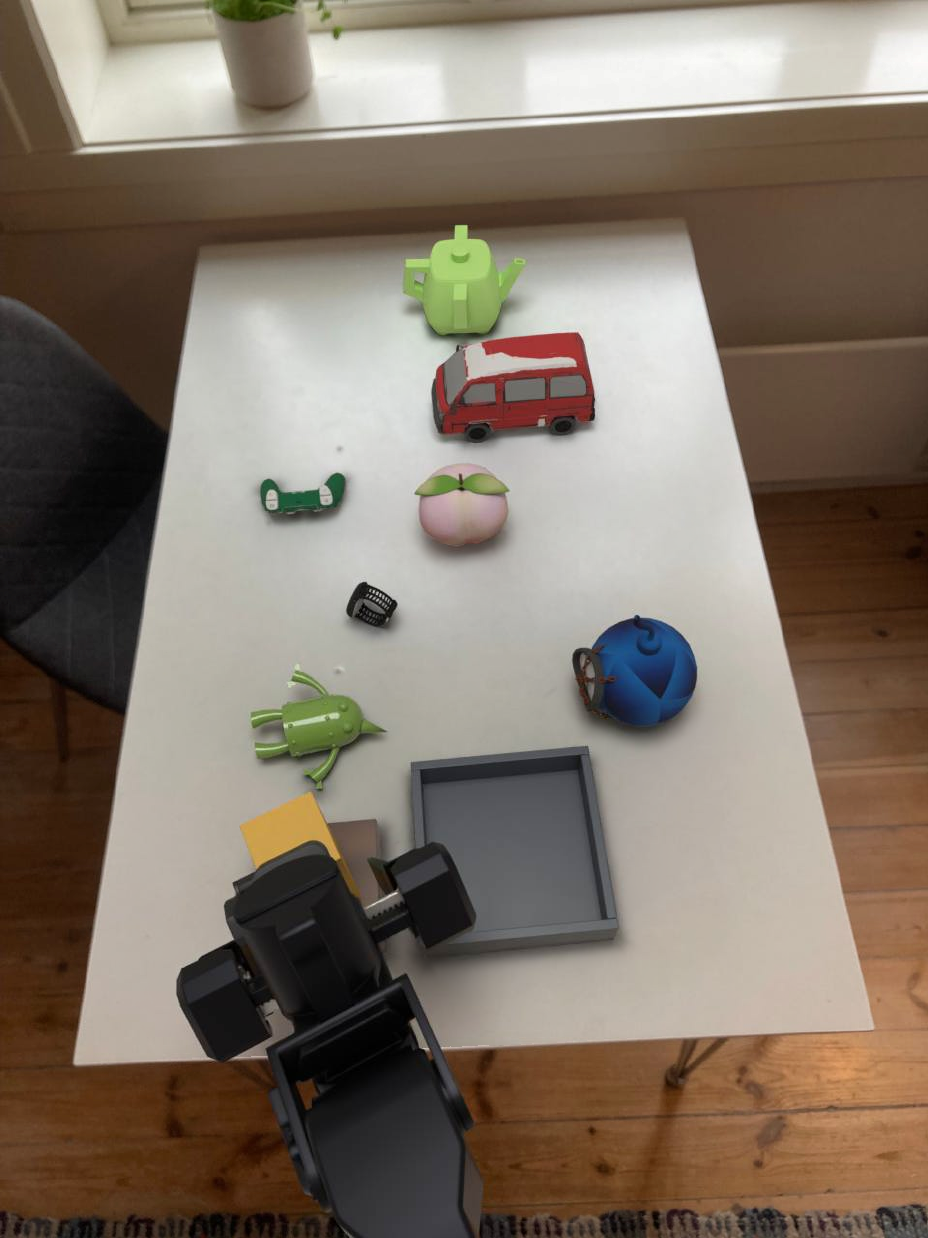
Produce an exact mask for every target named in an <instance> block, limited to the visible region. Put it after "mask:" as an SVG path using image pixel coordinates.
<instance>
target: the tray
mask: <svg viewBox="0 0 928 1238" xmlns="http://www.w3.org/2000/svg"><path fill="white" fill-rule="evenodd" d="M410 779H411V781H410V782H411V797H412V812H413V815H412V816H413V831H414V832H413V833H414V849H415V848H421V847H423V846H425V845H427V844H429V843H431V842H437V843H440V844H443V845H444V846H445V848H446V849H447V850H448V852H449V853H450V855H451V857H452V859H453V861H454V863H455V865H456V867H457V870H458V872H459V874H460V877H461V879H462V881H463V884H464V886H465V889H466V891H467V893H468V896H469V898H470V900H471V903H472V905H473V908H474V910H475V912H476V916H477V918H476V922H475V925H474V929H473V930H472V931H470V932H468V933H466V934H464V935H463V936H461V937H459V938H457V939H455V940H453V941H451V942H449V943H448V944H446V945H444V946H442V947H440V948H438V949H436V950H434V951H433V952H431V953H429V954H428V952H427V950H426V948H425V946H424V944H423V942H422V940H421V939H420V948H421V951H422V953H423V956H424V958H426V959H428V958H438V957H447V956H458V955H459V956H460V955H467V954H477V953H478V954H479V953H489V952H498V951H499V952H500V951H511V950H520V949H521V950H522V949H530V948H542V947H551V946H563V945H572V944H582V943H593V942H605V941H613V940H614V939H615V938H616V936H617V933H618V931H619V929H620V927H619V926H620V925H619V920H618V915H617V909H616V902H615V898H614V890H613V885H612V884H613V883H612V879H611V878H612V877H611V874H610V868H609V862H608V855H607V850H606V844H605V838H604V837H605V836H604V831H603V825H602V820H601V814H600V809H599V801H598V797H597V791H596V783H595V778H594V771H593V767H592V761H591V755H590V748H589V745H579V746H569V747H557V748H548V749H538V750H536V749H535V750H526V751H514V752H504V753H503V752H502V753H495V754H494V753H493V754H483V755H473V756H461V757H451V758H440V759H429V760H418V761H410Z"/></svg>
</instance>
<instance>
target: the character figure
mask: <svg viewBox="0 0 928 1238" xmlns="http://www.w3.org/2000/svg"><path fill="white" fill-rule="evenodd" d="M293 667H294V669H295V671H294V672H293V674H292V676H291V679H290V680H291V681H287V682H286V685H287V686H288V689H291V688H293V687H295V686H296V685H298V684H303V685H306V686H309V687H312V688H314V689H315V690H316V691H317V692H318V693H319V694H320V695H322V696H317V697H313V698H307V699H303V700H298V701H293V702H292V701H287V702H286V703H283V704H282V705H281V709H279V708H272V709H271V708H270V709H260V710H256V711H251V712H250V723H251V727H252V729H253V730H255V729H256V728H258V727H261V726H262V725H265V724H268V723H271V722H274V721H281V720H282V725H283V731H284V735H285V741H280V742H268V743H266V742H257V741H255V742H254V751H255V756H256V758H257V760H261V759H266V758H267V759H268V758H273V757H275V756H278V755H282V754H284V753H286V752H289V754H290V756H291V757H293V758H294V757H302V756H303V755H307V754H312V753H317V752H322V751H327V750H331V751H330V753H329V756H328V757H327V759H326V760H325V761H324V762H323V763H322V764H320V765H319V766H318V767H317V768H315V769H307V768H303V771H302V773H303V776H310V777H311V778H312V780H314V781H315V782H316V788H315V790H323V781H322V780H323V779H325V777H326V776H327V774H328V773H329V772H330V771H331V768H332V766H333V765H334V763H335V761H336V758H337V756H338V752H339V750H340V748H341V747H344V746H347V745H348V744H351V743H353V742H354V741H355V740H356V739H357V738H358V737H359V735H360V734H361V735H362V734H376V733H388V732H389V731H387V730H385V729H384V728H382V727H380V726H378V725H376V724H375V723H374V722H371V721H369V720H368V719H365V718H364V717H365V716H364V713H363V710H362V707H361V706H360V704H359V703H358V702H357V701H356V700H355V699H353V698H352V697H350V696H348V695H344V694H333V693H331V694H329V692H328V691H327V689H325V687H324V686H323V685H322V684H321V683H320V682H319V681H318V680H316V679H315V678H314V677H313V676H311V675H309V674H308V673H306V672H304V671H302V668H301V664H300V662H299V663H296V664H295V665H293Z"/></svg>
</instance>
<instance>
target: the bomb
mask: <svg viewBox="0 0 928 1238" xmlns="http://www.w3.org/2000/svg"><path fill="white" fill-rule="evenodd" d="M571 663H572V668H573V672H574V675H575V678H574V680H576V682H577V685H578V689H579V690H578V692H579V695H580V696H581V698H582V701H583V703H584V706H585V707H584V708H585V709H586V712H587V713H591V712H594V713H595V715H597V716H598V717H600V718H602V719H604V720H608V719H609V720H613V719H614V720H616V721H617V722H619V723H622V724H624V725H628V726H632V727H642V728H643V727H652V726H657V725H659V724H663V723H665V722H668V721H669V720H671V719H673V718H674V717H676V716H677V715H679V713H681V711H683V710H684V709H685V707H686V706H687V704H688V703H689V702H690V700H691V699H692V697H693V694H694V692H695V689H696V687H697V682H698V664H697V660H696V656H695V654H694V651H693V649H692V647H691V644H690V643H689V641H687V639H686V638H685V636H684V635H683V634H682V633H681V632H679V631H678V630H677V629H676V628H675V627H673V626H672V625H670V624H668V623H666V622H664V621H662V620H659V619H655V618H651V617H641V615H639V614H634V616H633V617H631V618H627V619H622V620H620V621H618V622H616V623H614V624H613V625H611V626H609V627H608V628H606V629H605V631H603V632H602V633H601V634H600V635H599V636H598V637H597V639H596V640H595V641H594V643H593V644H592V646H591V648H589V647H578V648H575V650H574V651H573V653H572V657H571ZM599 708H600V710H602V711H603V712H601V711H599Z"/></svg>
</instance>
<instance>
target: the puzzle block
mask: <svg viewBox="0 0 928 1238" xmlns="http://www.w3.org/2000/svg"><path fill="white" fill-rule="evenodd" d="M327 823H328V822H327V820H326V818H325V816H324V813H323V812H322V809H321V807H320V805H319V804H318V802H317V800H316V798H315V796H314V794H313V792H312V791H309V792H307V793H305V794H303V795H300V796H298V797H296V798H294V799H292V800H290V801H288V802H286V803H283V804H282V805H279V806H278V807H275V808H273V809H271V810H269V811H267V812H265V813H263V814H260V815H258V816H256V817H254V818H252V819H250V820H248V821H245V822H244V823H242V824H240V825H239V828H240V831H241V834H242V836H243V839H244V842H245V844H246V846H247V849H248V851H249V854H250V857H251V860H252V862H253V865H254V867H255V871H256V870H257V868H258V867H259V866H260V865H261V864H262V863H264V862H266V861H268V860H270V859H272V858H275V857H277V856H279V855H281V854H283V853H285V852H287V851H289V850H291V849H293V848H295V847H297V846H299V845H301V844H303V843H305V842H307V841H310V840H317V841H320V842H322V843H323V844H324V845H325V846H326V847H327V849H328V851H329V854H330V856H331V857H333V858H334V860H335V861H336V862H337V864H338V866H339V868H340V870H341V873H342V875H343V877H344V879H345V881H346V883H347V886H348V888H349V890H350V892H351V893H353V894H354V895H355V897H357V896H358V898H359V899H361V896H360V894H359V892H358V889H357V887H356V885H355V883H354V880H353V878H352V876H351V874H350V871H349V869H348V867H347V865H346V862H345V860H344V858H343V856H342V853H341V851H340V849H339V846H338V844H337V842H336V840H335V838H334V836H333V834H332V832H331V830H330V828H329V826H328V824H327Z"/></svg>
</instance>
